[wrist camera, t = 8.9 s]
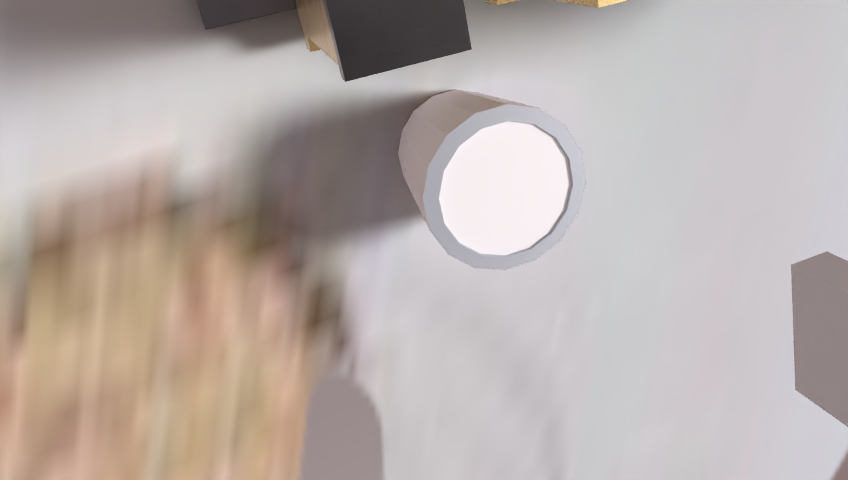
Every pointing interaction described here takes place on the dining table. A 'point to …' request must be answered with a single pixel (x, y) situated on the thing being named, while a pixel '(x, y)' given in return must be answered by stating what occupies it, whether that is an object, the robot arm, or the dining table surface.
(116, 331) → the dining table surface
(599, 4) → the fixed leg
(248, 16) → the rail
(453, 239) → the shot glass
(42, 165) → the dining table surface
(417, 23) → the sliding leg
